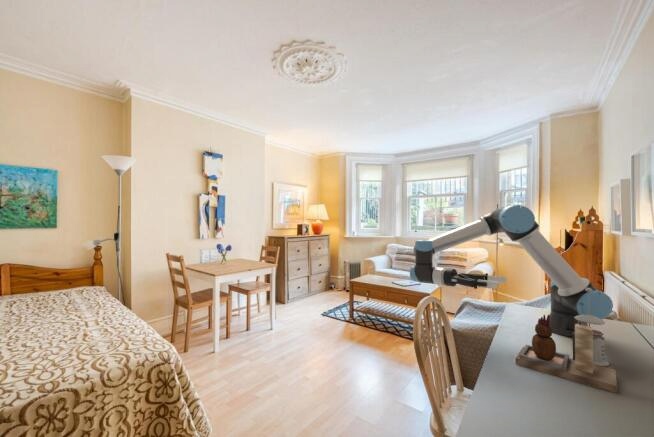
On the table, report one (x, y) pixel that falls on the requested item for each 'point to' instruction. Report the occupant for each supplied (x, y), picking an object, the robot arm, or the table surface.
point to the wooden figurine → (543, 340)
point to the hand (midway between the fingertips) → (502, 282)
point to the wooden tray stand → (573, 362)
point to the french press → (595, 336)
